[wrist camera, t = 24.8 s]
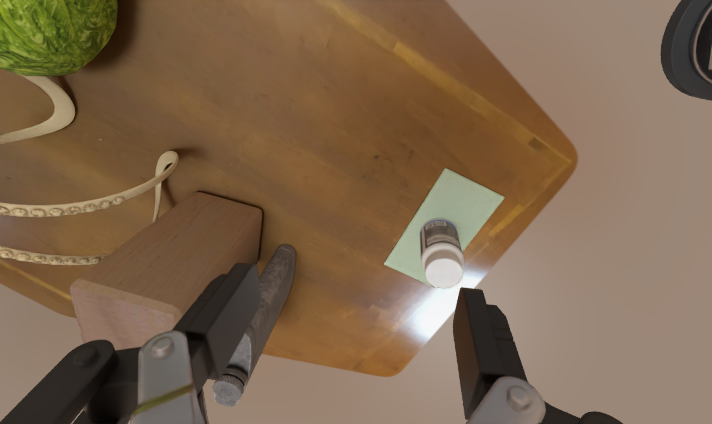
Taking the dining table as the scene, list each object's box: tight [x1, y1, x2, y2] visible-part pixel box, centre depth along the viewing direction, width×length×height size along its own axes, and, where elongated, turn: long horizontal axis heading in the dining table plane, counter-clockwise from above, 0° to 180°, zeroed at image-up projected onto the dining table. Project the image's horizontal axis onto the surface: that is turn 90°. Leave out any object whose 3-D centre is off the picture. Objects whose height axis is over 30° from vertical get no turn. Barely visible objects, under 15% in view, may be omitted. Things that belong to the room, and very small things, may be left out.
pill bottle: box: [420, 218, 464, 288], centre depth 39 cm, size 5×5×8 cm
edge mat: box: [384, 168, 505, 287], centre depth 43 cm, size 16×8×1 cm, turn 156°
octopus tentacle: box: [0, 73, 178, 265], centre depth 35 cm, size 22×12×20 cm, turn 58°
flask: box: [213, 244, 296, 407], centre depth 43 cm, size 4×14×18 cm, turn 162°
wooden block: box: [70, 192, 262, 350], centre depth 39 cm, size 10×10×20 cm
